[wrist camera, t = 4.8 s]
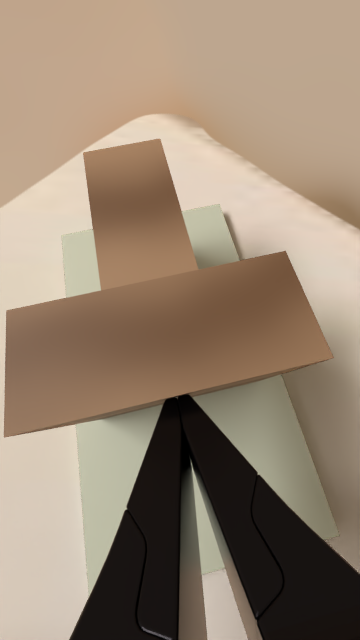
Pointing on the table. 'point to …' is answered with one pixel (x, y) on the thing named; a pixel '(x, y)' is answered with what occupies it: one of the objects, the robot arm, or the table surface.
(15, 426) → the t block
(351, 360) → the table surface
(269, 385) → the board
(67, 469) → the table surface
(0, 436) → the table surface
